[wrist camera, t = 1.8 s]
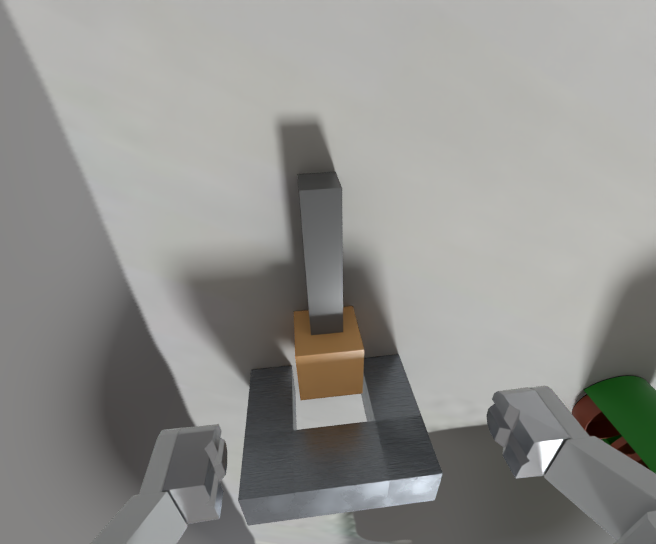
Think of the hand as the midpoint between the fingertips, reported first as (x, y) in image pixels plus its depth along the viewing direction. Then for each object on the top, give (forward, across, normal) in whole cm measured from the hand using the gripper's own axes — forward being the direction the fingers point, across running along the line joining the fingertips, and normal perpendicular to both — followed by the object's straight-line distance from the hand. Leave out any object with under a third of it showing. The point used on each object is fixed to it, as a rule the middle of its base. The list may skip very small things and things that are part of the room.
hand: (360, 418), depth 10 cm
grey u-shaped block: (+16, 0, +18) cm, 24 cm away
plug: (+16, 0, +6) cm, 17 cm away
